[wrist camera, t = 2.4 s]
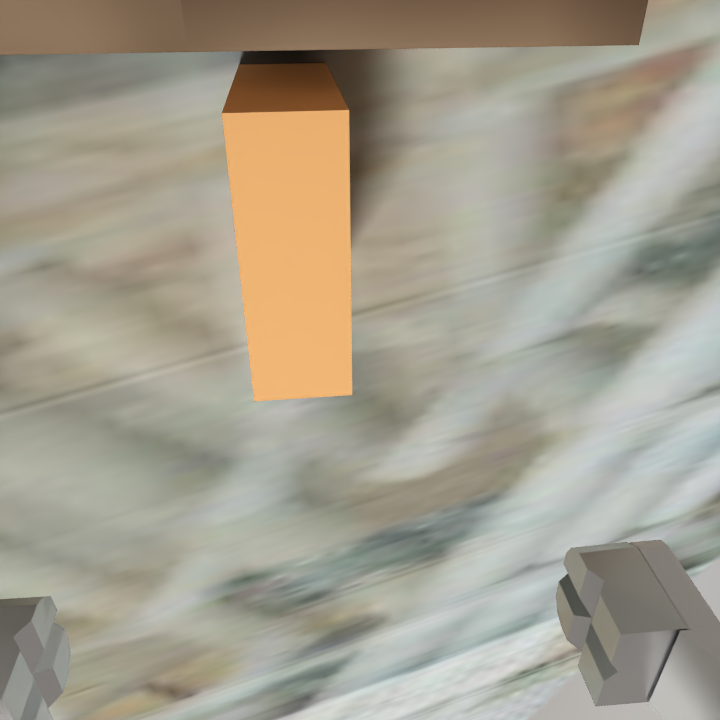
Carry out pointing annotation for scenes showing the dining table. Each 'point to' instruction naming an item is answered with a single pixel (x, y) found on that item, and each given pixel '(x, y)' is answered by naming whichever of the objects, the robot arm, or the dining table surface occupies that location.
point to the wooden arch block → (292, 226)
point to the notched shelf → (311, 24)
